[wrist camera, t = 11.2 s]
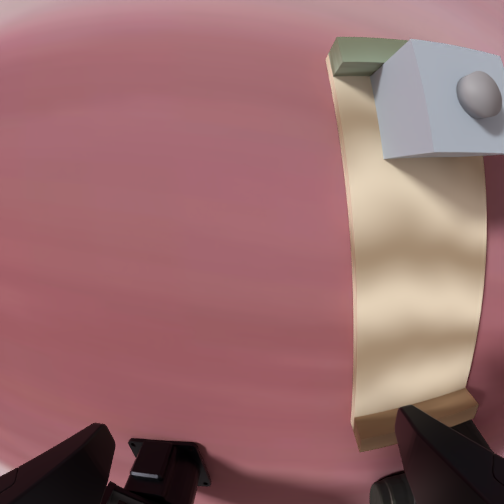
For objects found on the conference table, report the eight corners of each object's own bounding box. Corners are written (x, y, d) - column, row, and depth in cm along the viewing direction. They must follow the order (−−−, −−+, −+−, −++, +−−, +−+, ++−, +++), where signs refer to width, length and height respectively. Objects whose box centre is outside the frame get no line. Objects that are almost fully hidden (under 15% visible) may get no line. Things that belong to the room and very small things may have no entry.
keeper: (458, 157, 16) (533, 154, 9) (383, 159, 16) (446, 150, 10) (445, 81, 15) (511, 51, 8) (369, 77, 15) (420, 30, 9)
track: (456, 394, 21) (474, 417, 18) (350, 422, 22) (359, 452, 18) (458, 67, 15) (485, 54, 12) (325, 59, 16) (336, 36, 13)
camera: (380, 433, 22) (412, 523, 12) (478, 405, 21) (526, 471, 12) (360, 507, 25) (374, 574, 15) (441, 485, 25) (466, 542, 15)
